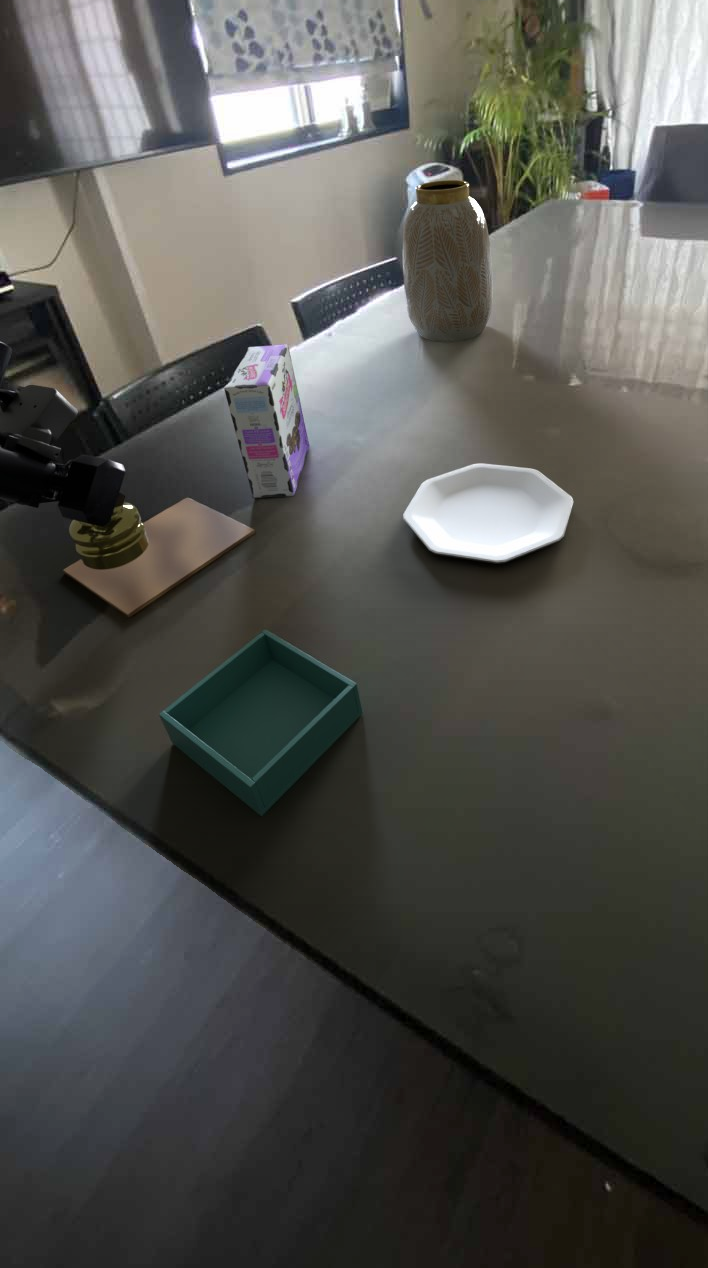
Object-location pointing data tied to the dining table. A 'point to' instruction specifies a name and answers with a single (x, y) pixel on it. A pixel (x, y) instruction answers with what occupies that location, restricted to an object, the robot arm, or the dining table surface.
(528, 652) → the dining table surface
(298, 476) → the candy box
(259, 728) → the storage box
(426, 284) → the vase
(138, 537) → the brass door knob
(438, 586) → the dining table surface
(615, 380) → the dining table surface
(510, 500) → the plate
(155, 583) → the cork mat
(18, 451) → the robot arm
